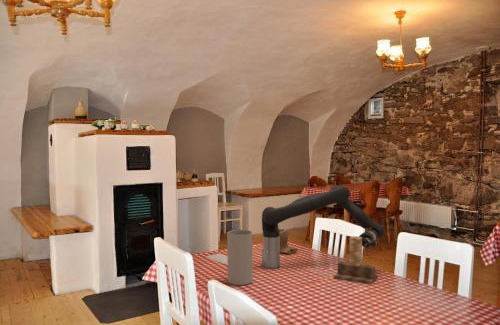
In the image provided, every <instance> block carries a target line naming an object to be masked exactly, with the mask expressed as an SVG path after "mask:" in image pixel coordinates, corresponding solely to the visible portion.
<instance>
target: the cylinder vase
mask: <svg viewBox="0 0 500 325" xmlns="http://www.w3.org/2000/svg"><path fill="white" fill-rule="evenodd" d="M226 238H227V240H226V241H227V247H226V248H227V256H228V265H227V282H228V283H229V284H231V285H234V286H245V285H249V284H252V283H253V278H254V276H253V272H254V271H253V270H254V268H253V263H254V262H253V260H254V259H253V257H254V256H253V231H252V230H247V229H234V230H230V231H227V236H226Z"/></svg>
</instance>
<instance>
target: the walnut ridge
mask: <svg viewBox="0 0 500 325" xmlns="http://www.w3.org/2000/svg"><path fill="white" fill-rule="evenodd" d="M336 270H337V273H335V274H334V275H333V279H335V280H338V281H339V280H340V281H347V282H353V283H359V284H364V285H365V284H366V285H372V284H373V283H374V282H375V281H376V280H377V279H378V274H375V265H367V264H362V265H360V266H351V265H349V262H346V261H338V263H337V269H336Z"/></svg>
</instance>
